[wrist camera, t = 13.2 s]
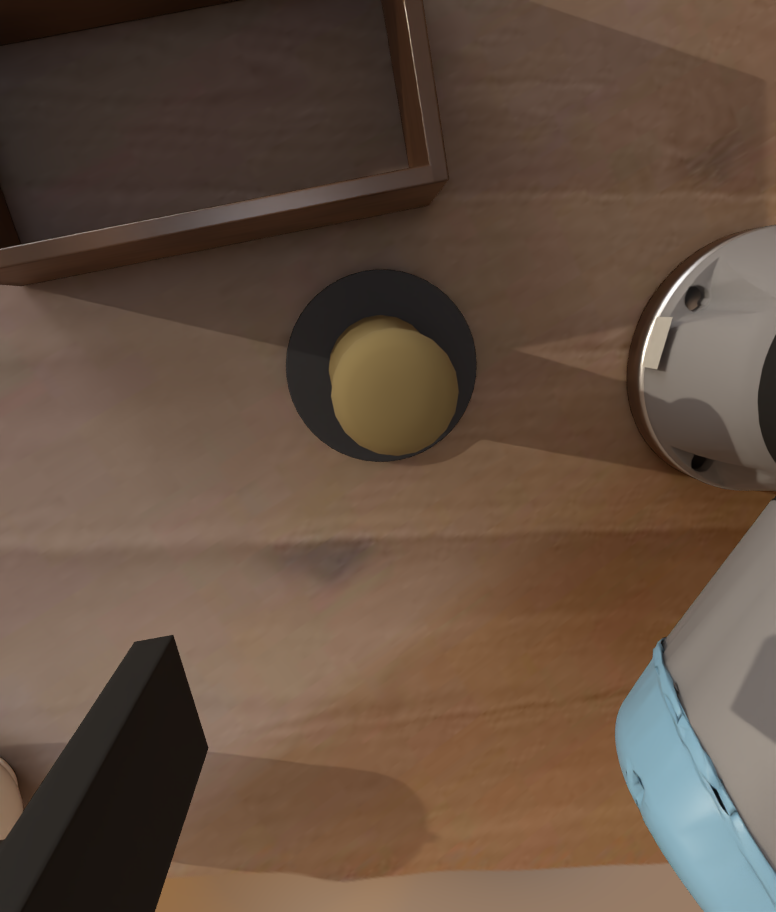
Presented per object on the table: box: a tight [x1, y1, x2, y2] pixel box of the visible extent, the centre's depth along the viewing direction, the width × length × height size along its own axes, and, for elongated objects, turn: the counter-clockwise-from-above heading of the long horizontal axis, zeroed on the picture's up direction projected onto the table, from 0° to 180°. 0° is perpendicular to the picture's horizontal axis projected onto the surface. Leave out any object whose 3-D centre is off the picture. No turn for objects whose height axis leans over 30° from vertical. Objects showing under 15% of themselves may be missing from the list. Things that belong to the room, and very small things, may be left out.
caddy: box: [0, 0, 449, 286], centre depth 25 cm, size 23×12×6 cm, turn 101°
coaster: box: [286, 270, 476, 462], centre depth 31 cm, size 11×11×1 cm
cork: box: [329, 315, 459, 456], centre depth 26 cm, size 6×6×11 cm
